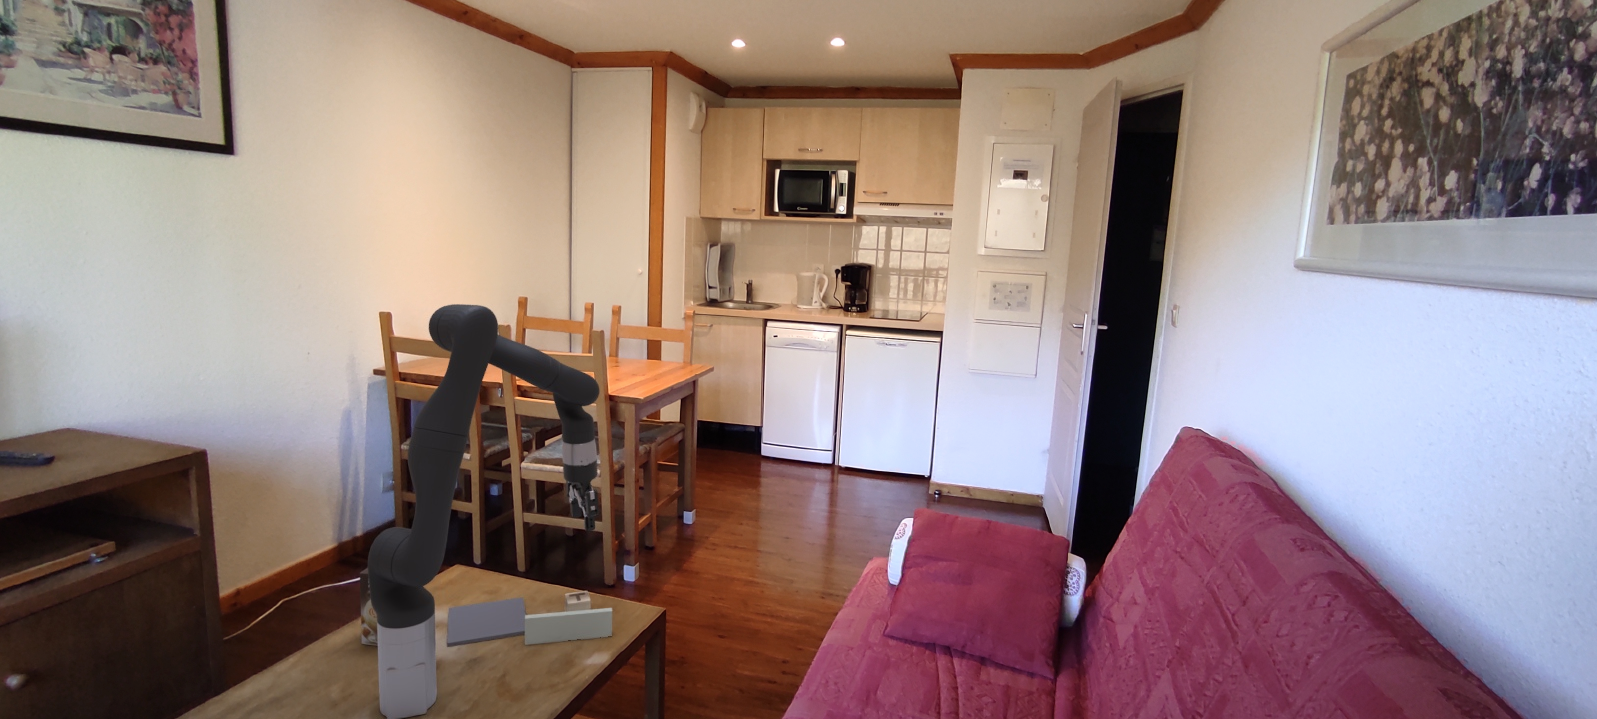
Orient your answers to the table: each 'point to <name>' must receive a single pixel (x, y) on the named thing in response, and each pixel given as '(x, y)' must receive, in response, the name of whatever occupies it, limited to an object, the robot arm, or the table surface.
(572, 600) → the letter cube
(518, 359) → the robot arm
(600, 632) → the screen
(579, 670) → the table surface
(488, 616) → the mat
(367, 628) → the coffee box
